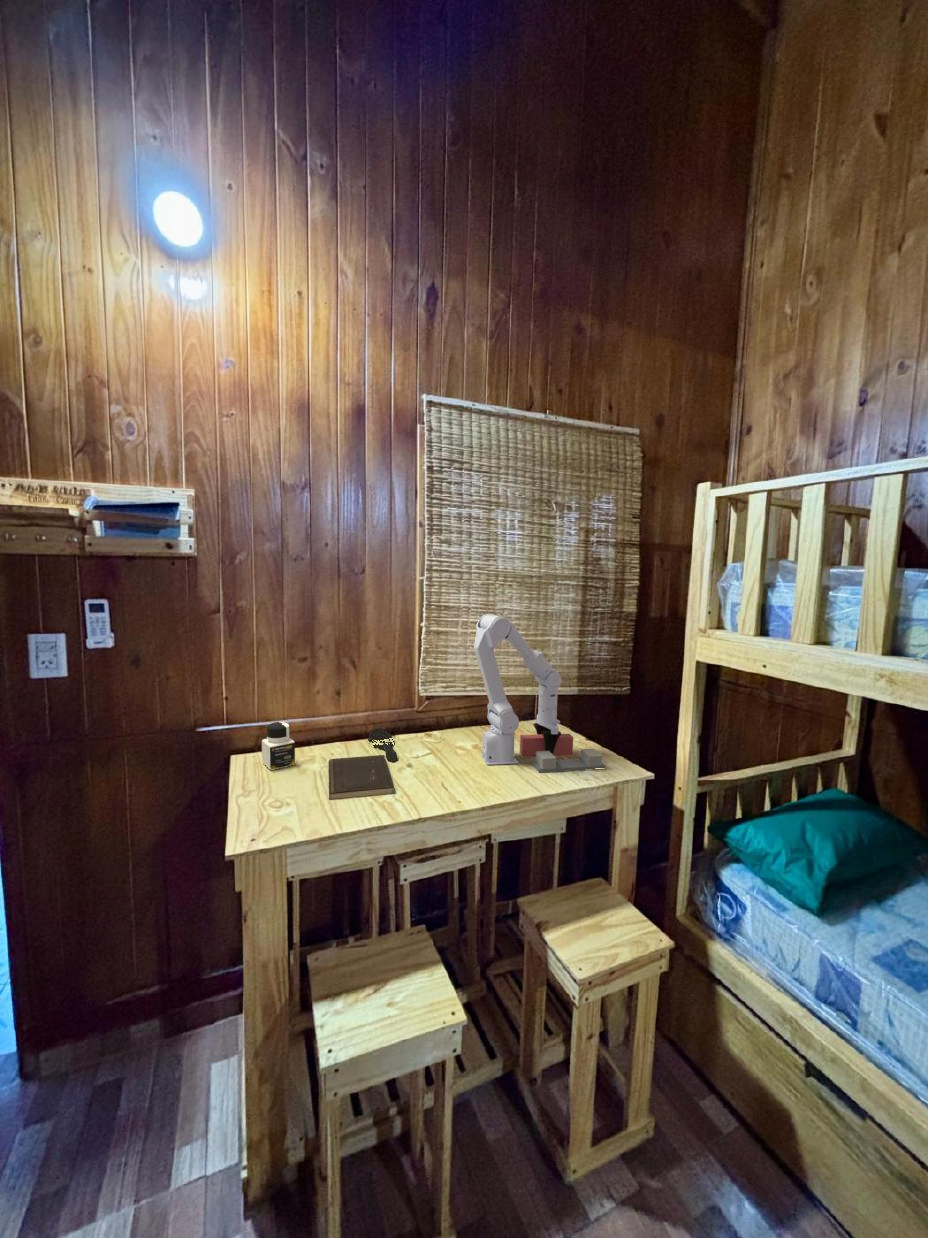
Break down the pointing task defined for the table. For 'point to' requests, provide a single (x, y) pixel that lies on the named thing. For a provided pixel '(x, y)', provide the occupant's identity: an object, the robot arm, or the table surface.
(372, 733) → the hairbrush
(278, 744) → the medicine bottle
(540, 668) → the robot arm
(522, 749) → the frame bar
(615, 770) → the table surface
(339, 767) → the hardcover book
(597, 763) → the display rack
